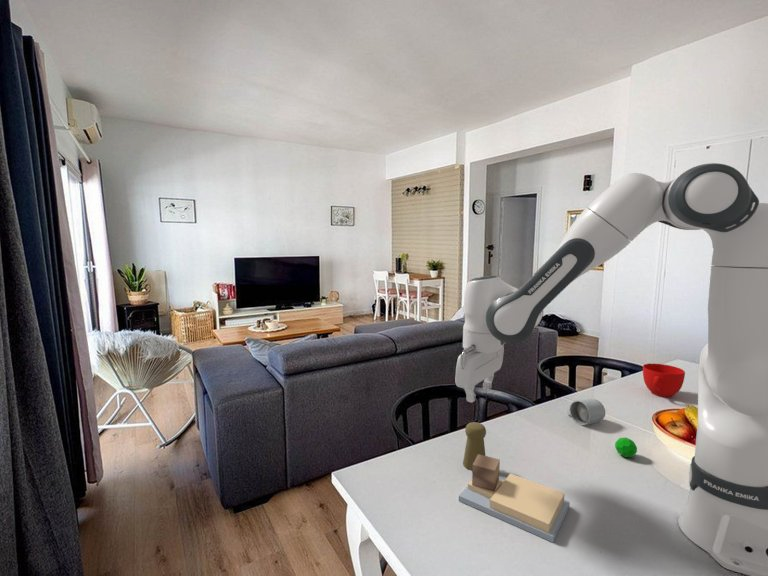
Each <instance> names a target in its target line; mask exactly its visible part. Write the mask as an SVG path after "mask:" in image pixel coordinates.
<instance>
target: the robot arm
mask: <svg viewBox="0 0 768 576" xmlns="http://www.w3.org/2000/svg"><path fill="white" fill-rule="evenodd" d="M655 223H661V224H664V225H667V226H669V227H672V228H675V229H679V230H684V231H686V230H687V231H697V230H703V231H704V232H706V234H708V236H709V238H710V239H711V243H712V249H713V251H712V256H711V264H710V265H711V266H710V277H709V286H708V287H709V288H708V289H709V290H708V300H707V302H708V303H707V317H708V318H707V319H708V320H707V321H708V322H707V323H708V324H707V325H708V327H707V329H708V330H707V331H708V335H707V336H708V337H707V340H708V342H707V343H705V345H704V347H702V350H701V352H700V354H699V365H698V388H697V389H698V390H697V392H698V393H697V425H696V436H695V438H696V439H695V449H694V450H695V451H694V456H693V457H692V458H691V461H690V462H691V463H690V466H689V472H688V475H689V476H688V483H689V491H688V492H689V493H688V495H687V500H686V502H685V505H684V508H683V510H682V512H681V514H680V515H679V517H678V521H677V522H678V526H679V528H680V530H681V531H682V532H683V534H684V535H685V536H686V537H687V538H688V539H689V540H690V541H691V542H693V544H696V546H697V547H699V548H701V549H702V550H703V551H705V552H706V553H708V554H709V555H710V556H711V557H712V558H713V559H714V560H715V561H716V562H717V563H718V564H719V565H720V566H722V567H723V568H724V569H727V570H729V571H732V572H736V573H739V574H743V575H746V576H768V203H767V202H766V203H765V202H764V203H763V202H760V200H759V197H758V196H757V195H756V193H755V191H754V190H753V189H752V187H751V186H750V184H749V182H748V181H747V179H746V177H744V175H743V173H742V172H740V171H739V170H738V169H736V168H735V167H733V166H730V165H727V164H725V163H724V164H723V163H713V162H711V163H703V164H700V165H696V166H693V167H691V168H688V170H685V171H684V172H682V173H681V174H680V175H678V176H677V177H676V178H674V179H672V180H671V181H667V182H665V181H664V182H662V181H658V180H656V178H653V177H652V176H650V175H648V174H644V173H641V172H640V173H639V172H631V173H628V174H626V175H624V176H622V177H621V178H619V179H618V180H616V181H615V182H613V184H611V185H610V186H608V187H607V188H606V189H605V190H604V191H602V193H600V194H599V195H598V196H596V198H595V199H594V200H593V201H591V202H590V204H588V205H587V207H586V208H584V209H583V210H582V212H581V213H580V214H579V215H578V216H577V217H576V219H575V220H574V221H573V222H572V224H571V226H569V228H568V229H567V231H566V233H565V234H564V235H563V237H562V239H561V241H560V242H559V243H558V245H557V247H556V248H555V250H554V251H553V253H552V254H551V256H549V257H548V260H546V262H545V263H543V264H542V266H540V268H539V269H537V270H536V271H535V273H533V274H532V276H530V277H529V278H528V280H527V281H526V282H525V283H523V285H521V286H520V287H519V288H517V287H514V286H513V285H511V284H509V283H507V282H506V281H504V280H502V279H501V278H500V277H499V276H497V275H485V276H480V277H474V278H472V279H470V280H469V281H468V282H467V284H466V286H465V291H464V298H463V314H464V324H463V326H462V348H463V350H462V353H461V354H459V355H458V357H457V361H456V367H455V377H454V379H455V381H454V382H455V385H456V387H458V388H461V389H464V392H465V394H466V395H465V396H466V397H465V398H466V399H465V400H466V401H467V402H469V403H471V404H472V403H473V402H475V401H476V400H477V399H476V398H477V397H476V396H477V393H475V387H476V385H478V384H479V383H482V382H483V383H482V390H483V391H486V392H487V391H490V390H491V389H492V383H493V380H494V378H495V373H496V372H497V371H499V370H501V368H502V366H503V361H504V351H505V349H504V345H505V344H512V345H513V344H519V343H520V344H521V343H523V342H524V341H526V340H527V339H528V338H529V337H531V335H532V333H533V332H534V330H535V328H536V327H537V326H538V325H539V323H540V322H541V320H542V319H543V316H544V309H546V307H547V306H549V304H550V303H552V302H553V301H554V300H555V299H556V298H557V297H558V296H559V295H560V294H561V293H562V292H563V291H564V290H565V289H566V288H568V286H569V285H570V284H571V283H573V282H574V281H575V280H576V279H577V280H578V278H580V277H581V276H582V275H585V274H586V273H588V272H589V271H592V270H594V269H596V268H597V267H599V266H601V265H603V264H604V263H606V262H607V261H609V260H611V259H612V258H613V257H615V256H616V255H618V254H619V253H620V252H622V250H623V249H625V248H626V247H627V246H628V245H629V244H631V242H633V241H634V240H635V239H636V238H637V237H638V236H639V235H640V234H641V233H642V232H644V230H646V228H648V227H650V226H651V225H653V224H655Z"/></svg>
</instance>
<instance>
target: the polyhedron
mask: <svg viewBox="0 0 768 576" xmlns="http://www.w3.org/2000/svg"><path fill="white" fill-rule="evenodd" d="M614 444H615V445H614V447H615V449H616V451H617V454H619V455H621V456H622V457H624V458H633V457H634V456H635V455H636V454H637V452H638V447H637V445H636V443H635V442H634V441H633V440H632V439H631V438H629V437H619V438H618V439H617V440H616V441H615V443H614Z"/></svg>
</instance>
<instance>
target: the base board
mask: <svg viewBox="0 0 768 576" xmlns="http://www.w3.org/2000/svg"><path fill="white" fill-rule="evenodd" d="M458 501H459V502H460V503H462V504H465V505H467V506H469V507H472V508H473V509H476V510H479V511H481V512H484V513H486V514H488V515H490V516H492V517H494V518H497V519H499V520H501V521H504V522H506V523H508V524H510V525H512V526H515V527H517V528H520V530H521V529H522V530H523V531H526V532H529V533H530V534H533V535H535V536H537V537H539V538H542V539H544V540H547V541H549V542H551V543H554V541H555V540H556V536H557V535H558V532H559V530H560V528H561V526H562V524H563V522H564V519H565V518H566V514H567V512H568V510H569V509H570V501H569V500H568V499H565V493H564V492H562V491H559V490H557V489H555V488H551V487H548V486H546V485H544V484H540V483H537V482H534V481H532V480H529V479H527V478H524V477H521V476H519V475H516V474H513V473H509V474H508V475H507V477H505V476H503V475H500V474H499V481H498V484H497V486H496V489H495V491H494V492H493V491H490V490H487V489H483V488H480V487H476V486H473V485H472V479H471V480H470V481H469V482H468V483H467V486H466V487H465V488H464V489H463V490H462V492H460V494H459V495H458Z"/></svg>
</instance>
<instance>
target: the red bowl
mask: <svg viewBox="0 0 768 576" xmlns="http://www.w3.org/2000/svg"><path fill="white" fill-rule="evenodd" d="M642 376H643V382H644V384H645V386H646V388H647V389H648V390H649V392H650V393H651V394H653V395H655V396H656V397H662V398H672V397H673V396H674V395H676V394H677V393H679V391H680V390H681V389H682V386H683V384H684V381H685V377H686V372H685V370H684V369H682V368H679V367H677V366H673V365H668V364H662V363H646V364H643V365H642Z"/></svg>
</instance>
